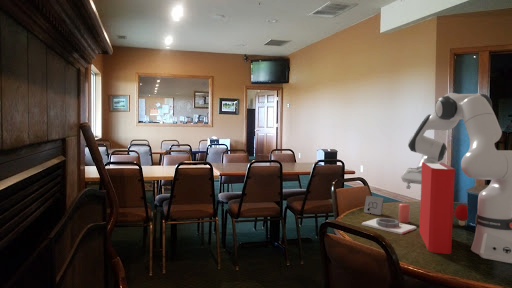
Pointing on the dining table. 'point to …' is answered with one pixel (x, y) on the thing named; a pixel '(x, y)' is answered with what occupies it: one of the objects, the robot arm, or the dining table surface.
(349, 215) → the dining table surface
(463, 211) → the red mushroom
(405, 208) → the lockout cap
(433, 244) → the book
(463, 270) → the dining table surface
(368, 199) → the electrical switch
